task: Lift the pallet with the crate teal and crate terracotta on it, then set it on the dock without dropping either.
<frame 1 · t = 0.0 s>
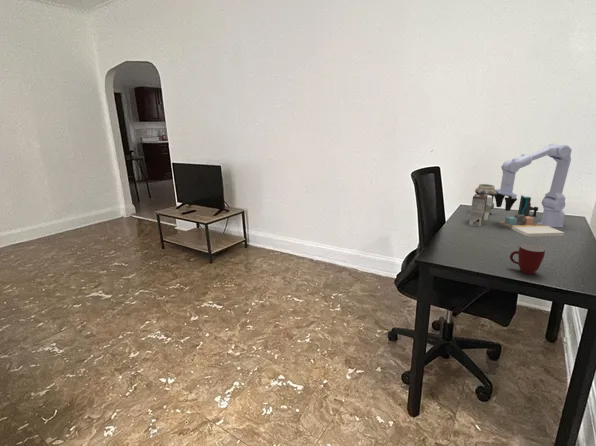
hand: (503, 208, 185), 10 cm above the table, tool pointing down, fingers open, 7 cm apart
crate teal: (510, 224, 190), resting on pallet
pallet: (518, 226, 190), on the table, touching crate teal, crate terracotta
crate terracotta: (526, 224, 190), resting on pallet
coffee box: (476, 224, 193), on the table
surveillance camera: (527, 216, 208), on the table
stone pedestal urn: (481, 213, 214), on the table
mug: (523, 271, 133), on the table
dock: (536, 233, 177), on the table
syrup box: (481, 219, 201), on the table
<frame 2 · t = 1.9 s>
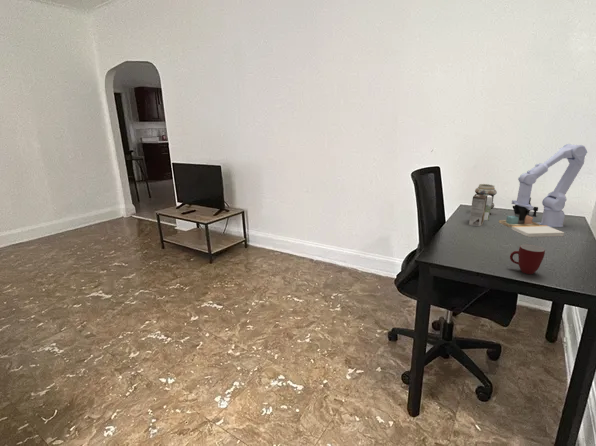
hand: (519, 219, 189), 3 cm above the table, tool pointing down, fingers closed on pallet, 3 cm apart
pallet: (518, 225, 190), on the table, touching crate teal, crate terracotta, gripper
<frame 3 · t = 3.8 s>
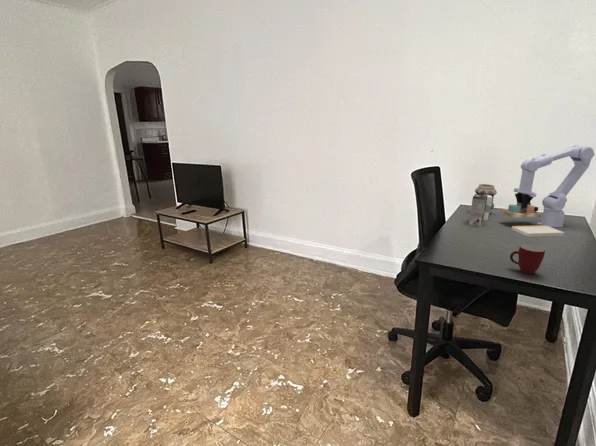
hand: (521, 207, 187), 10 cm above the table, tool pointing down, fingers closed on pallet, 3 cm apart
crate teal: (513, 212, 188), point 7 cm above the table, touching pallet
pallet: (519, 214, 189), point 6 cm above the table, touching crate teal, crate terracotta, gripper
crate terracotta: (527, 212, 188), point 7 cm above the table, touching pallet
everything else where it was.
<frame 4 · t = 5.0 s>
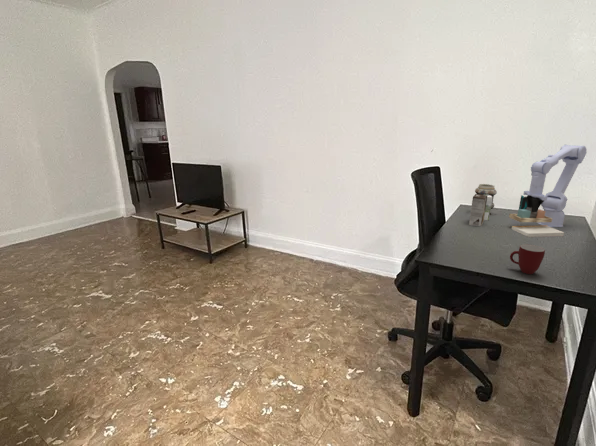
hand: (531, 210, 180), 10 cm above the table, tool pointing down, fingers closed on pallet, 3 cm apart
crate teal: (523, 217, 181), point 7 cm above the table, touching pallet
pallet: (529, 219, 181), point 5 cm above the table, touching crate teal, crate terracotta, gripper
crate terracotta: (537, 217, 181), point 6 cm above the table, touching pallet
everything else where it was.
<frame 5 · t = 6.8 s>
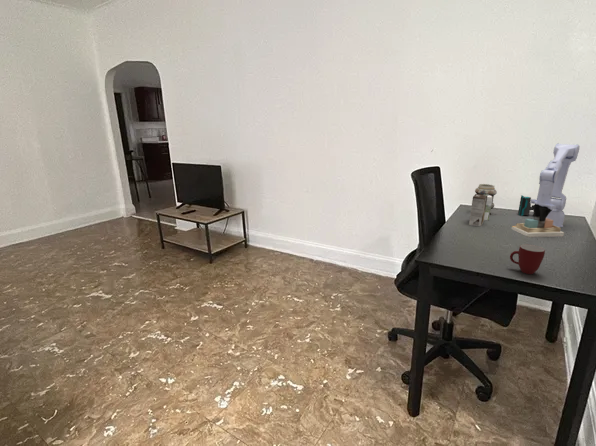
hand: (539, 220, 175), 7 cm above the table, tool pointing down, fingers closed on pallet, 3 cm apart
crate teal: (530, 227, 176), point 3 cm above the table, touching pallet
pallet: (537, 229, 176), point 2 cm above the table, touching crate teal, crate terracotta, dock, gripper
crate terracotta: (545, 226, 176), point 3 cm above the table, touching pallet
everything else where it was.
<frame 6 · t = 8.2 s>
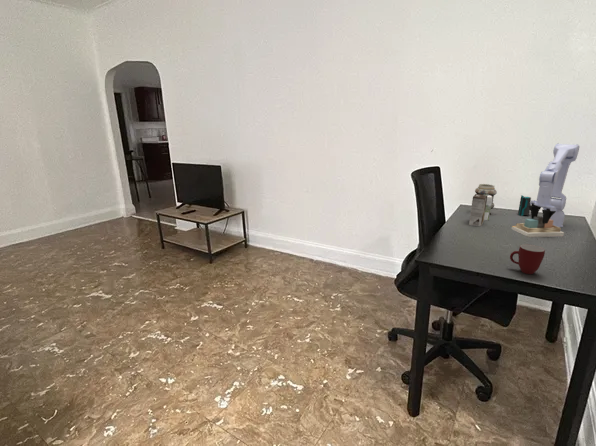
hand: (539, 221, 175), 6 cm above the table, tool pointing down, fingers open, 7 cm apart
pallet: (537, 229, 176), point 2 cm above the table, touching crate teal, crate terracotta, dock
everything else where it was.
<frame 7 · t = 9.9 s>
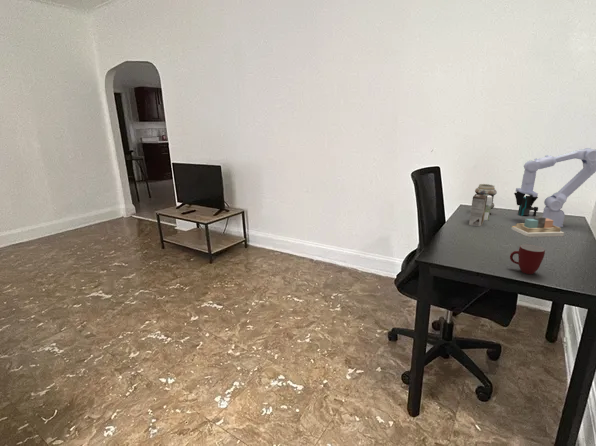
hand: (523, 206, 191), 9 cm above the table, tool pointing down, fingers open, 7 cm apart
nothing on the table moved.
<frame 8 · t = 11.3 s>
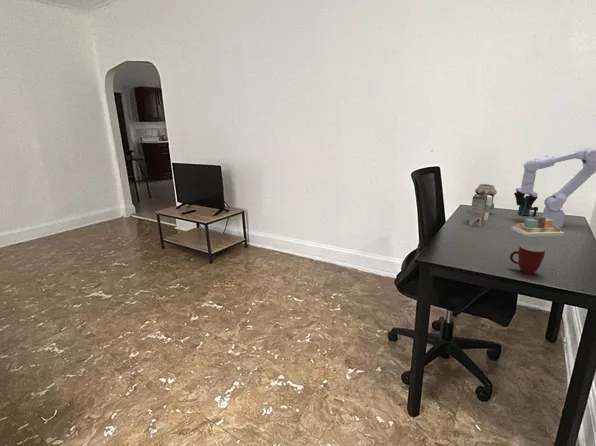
hand: (523, 206, 192), 9 cm above the table, tool pointing down, fingers open, 7 cm apart
nothing on the table moved.
at the end: pallet 0.1 cm off-centre on the dock, point 2.0 cm above the dock's base; crate teal inside the target area on the pallet (4.0 cm from its centre), point 1.2 cm above the pallet's base; crate terracotta inside the target area on the pallet (4.0 cm from its centre), point 1.2 cm above the pallet's base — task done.
